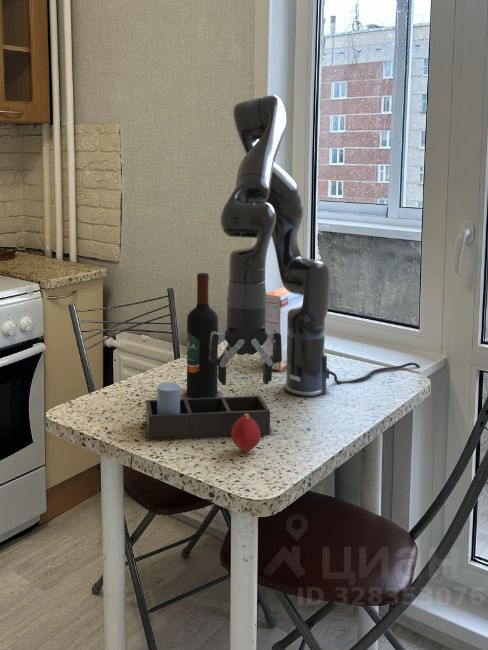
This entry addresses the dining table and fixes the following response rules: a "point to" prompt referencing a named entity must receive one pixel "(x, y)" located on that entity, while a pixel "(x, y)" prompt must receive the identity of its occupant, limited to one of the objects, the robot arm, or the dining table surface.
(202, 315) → the wine bottle
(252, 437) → the onion
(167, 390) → the light blue cylinder
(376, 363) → the dining table surface
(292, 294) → the cracker box
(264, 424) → the holder
